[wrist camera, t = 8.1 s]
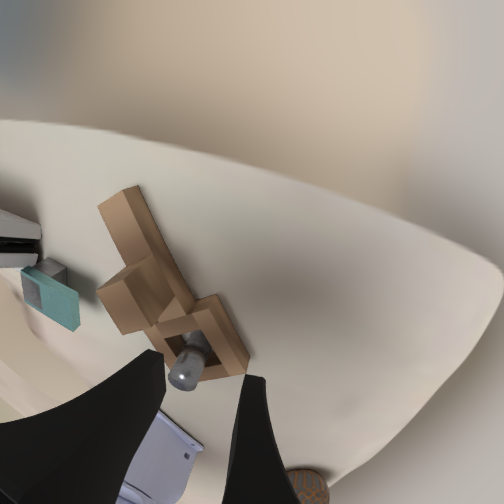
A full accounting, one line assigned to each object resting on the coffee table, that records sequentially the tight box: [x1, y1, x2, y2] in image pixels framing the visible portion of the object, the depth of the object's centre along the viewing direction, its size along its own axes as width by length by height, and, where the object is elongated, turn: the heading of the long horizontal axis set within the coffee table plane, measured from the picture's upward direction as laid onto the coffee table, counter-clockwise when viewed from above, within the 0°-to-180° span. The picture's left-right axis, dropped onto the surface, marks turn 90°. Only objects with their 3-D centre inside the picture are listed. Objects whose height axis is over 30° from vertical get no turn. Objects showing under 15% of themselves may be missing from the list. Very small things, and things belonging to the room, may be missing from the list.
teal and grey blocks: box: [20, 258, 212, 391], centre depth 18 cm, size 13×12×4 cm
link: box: [96, 185, 250, 382], centre depth 16 cm, size 14×5×5 cm, turn 24°
